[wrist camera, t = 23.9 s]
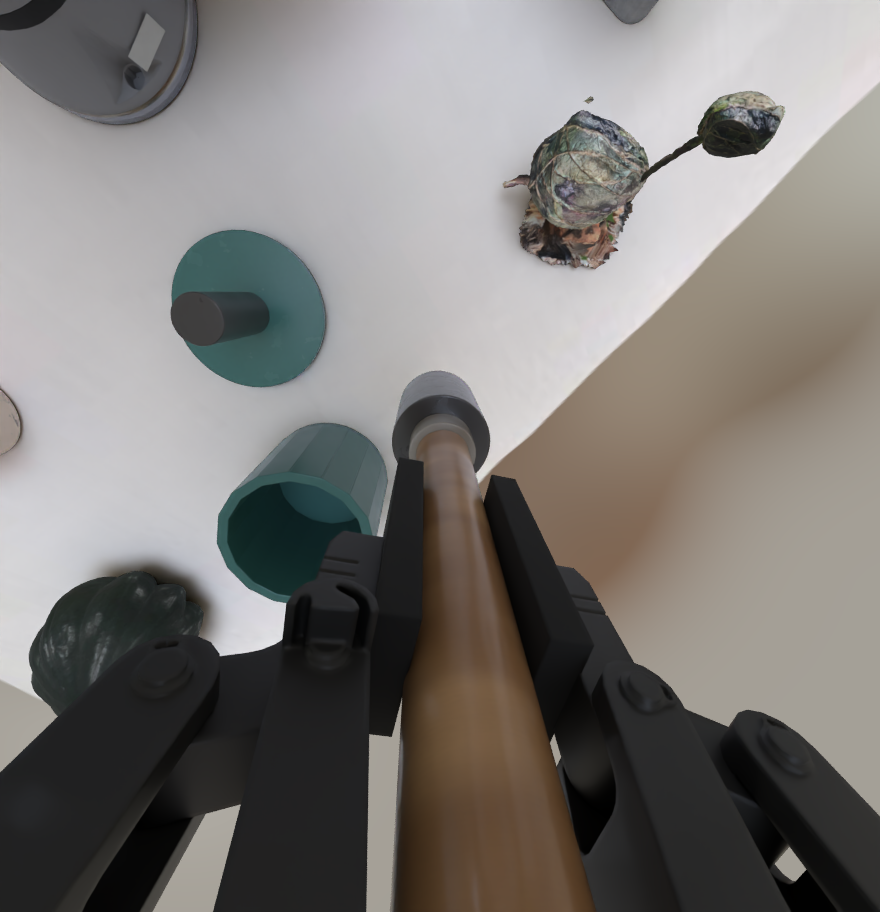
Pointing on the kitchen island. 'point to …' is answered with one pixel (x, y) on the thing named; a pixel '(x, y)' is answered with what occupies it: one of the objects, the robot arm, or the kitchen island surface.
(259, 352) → the lid
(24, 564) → the kitchen island surface
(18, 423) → the teacup with lid
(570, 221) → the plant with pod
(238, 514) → the tin
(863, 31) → the kitchen island surface
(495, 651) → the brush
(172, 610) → the squash
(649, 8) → the hip flask
